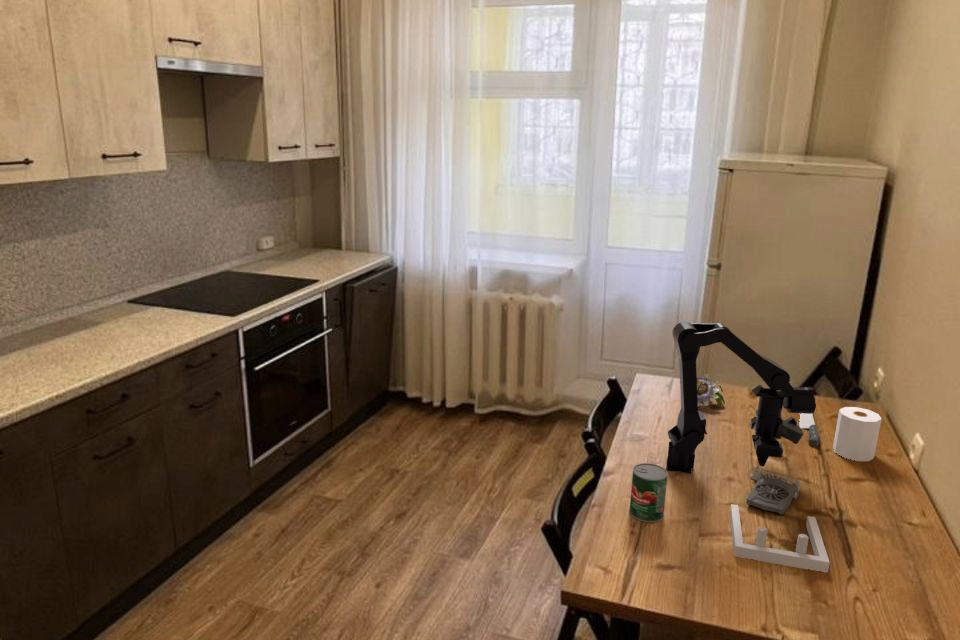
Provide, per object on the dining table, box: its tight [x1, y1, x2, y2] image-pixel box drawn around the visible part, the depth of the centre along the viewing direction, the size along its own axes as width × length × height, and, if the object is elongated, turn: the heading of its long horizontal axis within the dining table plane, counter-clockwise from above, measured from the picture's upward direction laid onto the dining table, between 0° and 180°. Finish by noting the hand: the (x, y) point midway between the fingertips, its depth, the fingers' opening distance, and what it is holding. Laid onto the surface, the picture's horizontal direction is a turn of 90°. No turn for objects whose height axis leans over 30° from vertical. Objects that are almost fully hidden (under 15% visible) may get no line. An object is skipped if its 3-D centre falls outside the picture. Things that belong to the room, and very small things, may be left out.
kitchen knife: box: [798, 413, 821, 448], centre depth 211 cm, size 29×3×5 cm
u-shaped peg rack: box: [729, 503, 831, 574], centre depth 152 cm, size 18×18×6 cm
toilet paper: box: [832, 406, 882, 462], centre depth 193 cm, size 10×10×12 cm
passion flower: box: [697, 373, 726, 408], centre depth 226 cm, size 11×11×12 cm
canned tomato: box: [628, 462, 669, 523], centre depth 161 cm, size 8×8×11 cm
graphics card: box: [745, 468, 801, 515], centre depth 170 cm, size 17×4×12 cm
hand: (761, 465), depth 183 cm, fingers closed
